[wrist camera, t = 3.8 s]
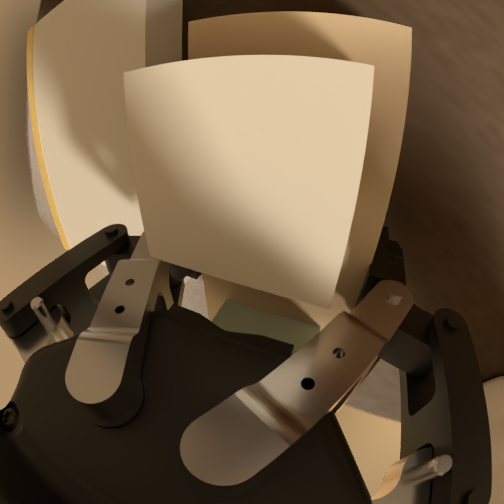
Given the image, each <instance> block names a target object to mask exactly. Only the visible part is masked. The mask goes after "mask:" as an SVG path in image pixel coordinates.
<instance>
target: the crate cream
mask: <svg viewBox="0 0 504 504" xmlns="http://www.w3.org/2000/svg"><path fill="white" fill-rule="evenodd" d="M373 79H374V65H369V64H363V63H358V62H351V61H345V60H337V59H329V58H320V57H309V56H293V55H237V56H221V57H209V58H200V59H192V60H184V61H178V62H171V63H166V64H160V65H155V66H150V67H145V68H141V69H136V70H132V71H128V72H124V91H125V105H126V117H127V127H128V136H129V144H130V152H131V159H132V166H133V173H134V179H135V185H136V191H137V197H138V202H139V208H140V213H141V218H142V223H143V227H144V232H145V237H146V241H147V245H148V250H149V254H150V257H153V258H156V259H160V260H163V261H166V262H169V263H172V264H175V265H178V266H181V267H185V268H188V269H191V270H194V271H197V272H201V273H204V274H207V275H210V276H214V277H217V278H220V279H224V280H227V281H230V282H234V283H237V284H241V285H244V286H247V287H251V288H254V289H258V290H261V291H265V292H268V293H272V294H275V295H279V296H283V297H286V298H290V299H293V300H297V301H301V302H305V303H308V304H312V305H316V306H320V307H323V308H327V309H329V308H330V305H331V302H332V298H333V295H334V291H335V288H336V284H337V281H338V277H339V273H340V270H341V266H342V262H343V258H344V254H345V250H346V246H347V242H348V238H349V233H350V229H351V224H352V220H353V215H354V211H355V206H356V201H357V196H358V191H359V185H360V180H361V174H362V168H363V162H364V156H365V150H366V143H367V136H368V128H369V120H370V111H371V102H372V91H373Z"/></svg>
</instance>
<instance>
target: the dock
mask: <svg viewBox="0 0 504 504" xmlns="http://www.w3.org/2000/svg"><path fill="white" fill-rule="evenodd" d="M182 13H183V0H64V1H63V2H61V3H60V4H59V5H58V6H56V7H55V8H54V9H53V10H51V11H50V12H49V13H48V14H47V15H45V16H44V17H43V18H42V19H41V20H40V21H39V22H38V23H36V24H35V25H34V26H32V27H31V28H30V29H29V30H28V34H27V84H28V98H29V108H30V117H31V124H32V131H33V137H34V143H35V148H36V153H37V158H38V163H39V167H40V172H41V176H42V180H43V184H44V188H45V191H46V195H47V198H48V202H49V205H50V209H51V212H52V215H53V218H54V221H55V224H56V227H57V230H58V233H59V236H60V238H61V241H62V244H63V246H64V248H65V249H67V250H70V249H71V248H73V247H74V246H76V245H78V244H79V243H81V242H82V241H84V240H85V239H87V238H88V237H90V236H92V235H93V234H95V233H96V232H98V231H100V230H101V229H103V228H105V227H107V226H109V225H113V224H123V225H125V226H126V227H127V231H128V235H129V236H141V235H142V233H143V232H144V227H143V223H142V218H141V213H140V208H139V202H138V197H137V191H136V185H135V179H134V173H133V166H132V159H131V152H130V144H129V136H128V127H127V117H126V105H125V91H124V72H128V71H132V70H136V69H141V68H145V67H150V66H155V65H160V64H166V63H171V62H178V61H182ZM101 264H102V265H105V266H106V263H105V261H103V262H102V263H101ZM189 279H190V277H188V276H186V277H185V278H184V284H185V283H186V282H187V281H188V280H189Z"/></svg>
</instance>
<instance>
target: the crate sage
mask: <svg viewBox="0 0 504 504" xmlns="http://www.w3.org/2000/svg"><path fill="white" fill-rule="evenodd" d="M211 322H213V323H214V324H216V325H217V326H219V327H220V328H222V329H223V330H226V331H230V332H239V333H247V334H257V335H263V336H266V337H270V338H273V339H276V340H279V341H283V342H286V343H289V344H293V345H294V350H293V354H294V353H295V352H297V351H298V350H299V349H300V348H301V347H303V346H304V345H305V344H306V343H307V342H308V341H309V340H311V339H312V338H313V337H314V336H315V335H316V334H317V333H318V332H319V331H320V328H321V327H319V326H315V325H311V324H308V323H304V322H300V321H297V320H293V319H290V318H286V317H283V316H279V315H276V314H273V313H269V312H266V311H262V310H259V309H256V308H253V307H249V306H246V305H243V304H240V303H236V302H233V301H230V300H227V299H226V300H225V302H224V303H223V305H222V306H221V308H220V309H219V311H218V312H217V314H216V315H215V317H214V318H213V320H212V321H211ZM293 354H292V355H293Z"/></svg>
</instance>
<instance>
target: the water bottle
mask: <svg viewBox="0 0 504 504" xmlns="http://www.w3.org/2000/svg"><path fill="white" fill-rule="evenodd" d="M483 388H484V393H485V399H486V405H487V411H488V418H489V427H490V437H491V452H492V491H491V498H490V502H489V504H504V376H500V377H496V378H493V379H491V380H488V381H486V382H484V383H483Z"/></svg>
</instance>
